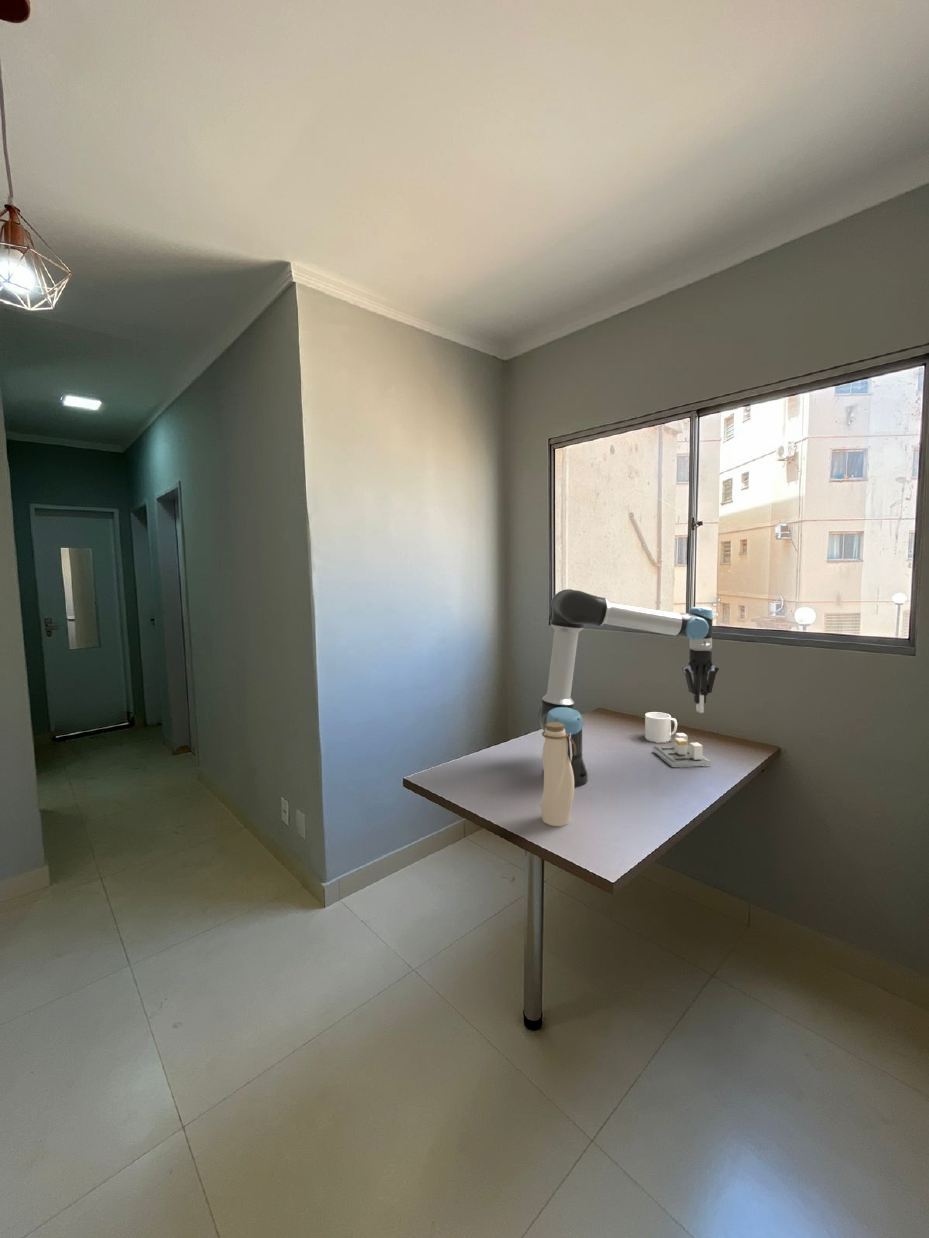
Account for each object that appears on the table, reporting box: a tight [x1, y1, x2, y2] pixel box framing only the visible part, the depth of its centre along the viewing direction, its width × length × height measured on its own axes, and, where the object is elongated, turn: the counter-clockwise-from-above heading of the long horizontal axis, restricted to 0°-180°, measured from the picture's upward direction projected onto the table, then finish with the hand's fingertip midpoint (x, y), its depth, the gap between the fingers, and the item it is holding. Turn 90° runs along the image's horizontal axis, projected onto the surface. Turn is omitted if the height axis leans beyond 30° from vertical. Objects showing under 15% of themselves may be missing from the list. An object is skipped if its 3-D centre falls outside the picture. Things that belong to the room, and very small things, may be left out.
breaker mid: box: [674, 737, 687, 754], centre depth 186 cm, size 3×4×5 cm
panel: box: [652, 745, 711, 768], centre depth 187 cm, size 14×16×2 cm
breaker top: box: [674, 732, 689, 749], centre depth 192 cm, size 3×4×5 cm
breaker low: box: [689, 742, 704, 760], centre depth 181 cm, size 3×4×5 cm
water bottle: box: [540, 722, 576, 827], centre depth 142 cm, size 10×9×28 cm
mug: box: [644, 711, 678, 742], centre depth 208 cm, size 13×10×10 cm
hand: (699, 711), depth 185 cm, fingers closed
